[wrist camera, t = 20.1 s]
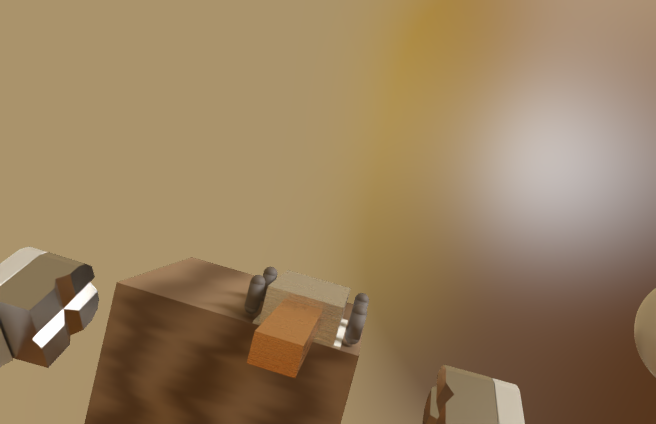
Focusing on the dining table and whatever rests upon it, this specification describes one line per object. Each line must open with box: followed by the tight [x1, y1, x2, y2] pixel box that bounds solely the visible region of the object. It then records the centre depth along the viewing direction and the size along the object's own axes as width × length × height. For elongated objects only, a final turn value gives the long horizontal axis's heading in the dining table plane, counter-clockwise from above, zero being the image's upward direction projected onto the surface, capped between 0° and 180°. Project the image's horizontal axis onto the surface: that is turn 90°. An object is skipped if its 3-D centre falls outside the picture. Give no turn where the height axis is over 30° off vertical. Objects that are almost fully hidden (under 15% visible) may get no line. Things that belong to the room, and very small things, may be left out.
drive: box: [247, 270, 350, 378], centre depth 33 cm, size 6×15×3 cm, turn 173°
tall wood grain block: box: [85, 257, 369, 424], centre depth 42 cm, size 20×14×29 cm
